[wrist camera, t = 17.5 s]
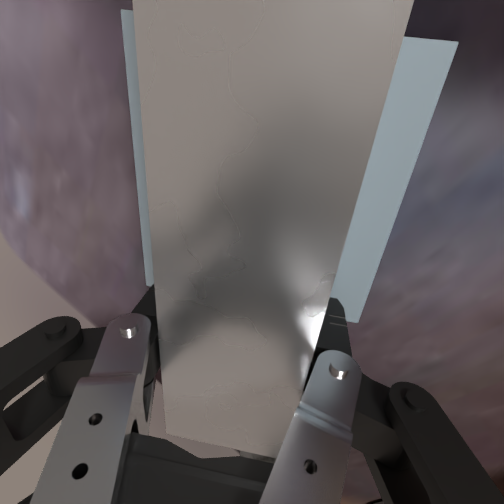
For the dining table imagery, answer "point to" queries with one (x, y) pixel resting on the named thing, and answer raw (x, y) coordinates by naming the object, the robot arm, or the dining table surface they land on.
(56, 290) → the dining table surface
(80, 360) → the robot arm
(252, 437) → the bar
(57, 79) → the dining table surface
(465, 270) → the dining table surface
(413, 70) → the tray
